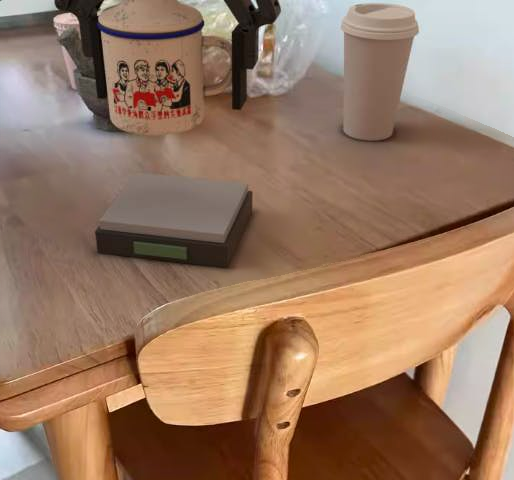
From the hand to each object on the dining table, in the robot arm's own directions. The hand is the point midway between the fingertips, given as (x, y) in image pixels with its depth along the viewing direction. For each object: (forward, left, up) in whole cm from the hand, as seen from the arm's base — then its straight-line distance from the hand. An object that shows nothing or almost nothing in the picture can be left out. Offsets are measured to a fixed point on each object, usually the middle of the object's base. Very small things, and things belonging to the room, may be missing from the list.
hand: (172, 99), depth 67 cm
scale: (0, 0, -13) cm, 13 cm away
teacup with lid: (0, 0, -2) cm, 2 cm away
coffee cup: (+17, +32, -14) cm, 39 cm away
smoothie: (-26, +40, -14) cm, 50 cm away
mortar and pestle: (-17, +27, -14) cm, 35 cm away
